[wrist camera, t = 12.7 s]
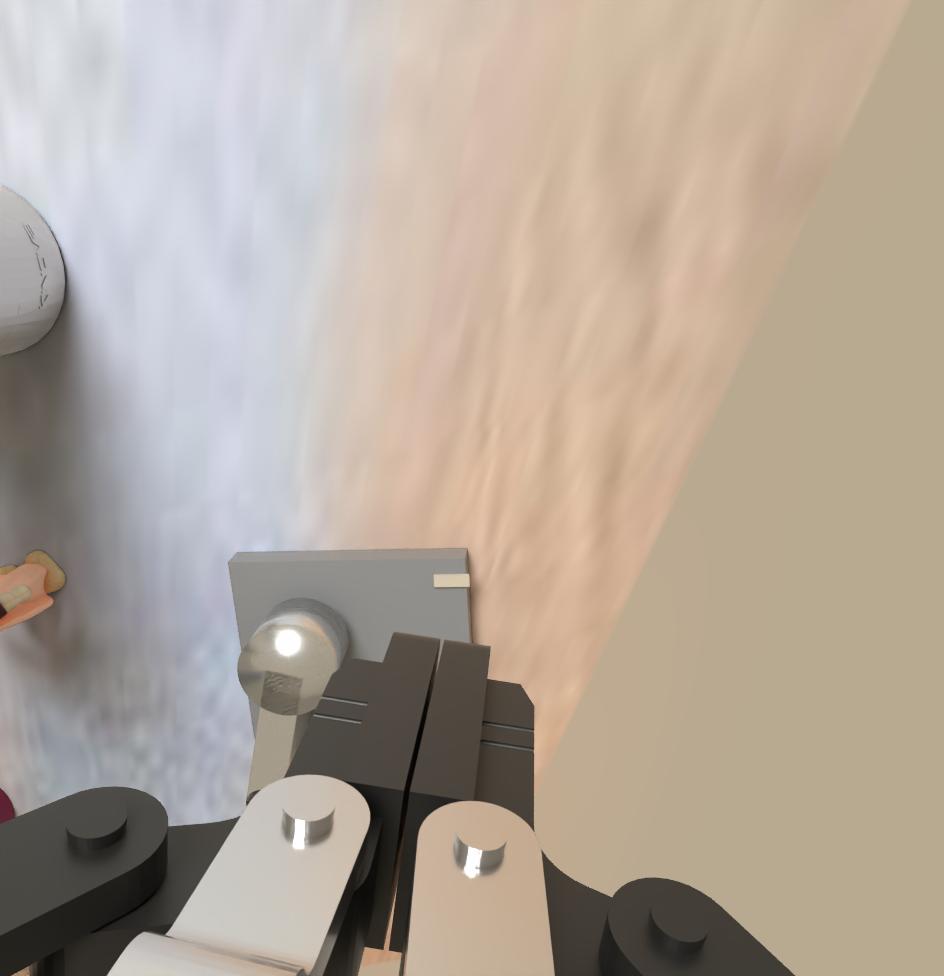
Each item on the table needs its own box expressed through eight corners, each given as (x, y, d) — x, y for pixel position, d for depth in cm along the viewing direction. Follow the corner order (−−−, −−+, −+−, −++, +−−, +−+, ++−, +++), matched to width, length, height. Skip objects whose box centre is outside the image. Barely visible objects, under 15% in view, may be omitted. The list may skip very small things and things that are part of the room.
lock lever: (268, 588, 45) (243, 621, 41) (354, 608, 45) (338, 643, 41) (242, 764, 49) (218, 809, 45) (323, 782, 49) (305, 829, 45)
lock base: (266, 749, 51) (257, 766, 50) (237, 552, 47) (226, 563, 46) (481, 750, 50) (479, 768, 48) (470, 548, 46) (468, 559, 44)
